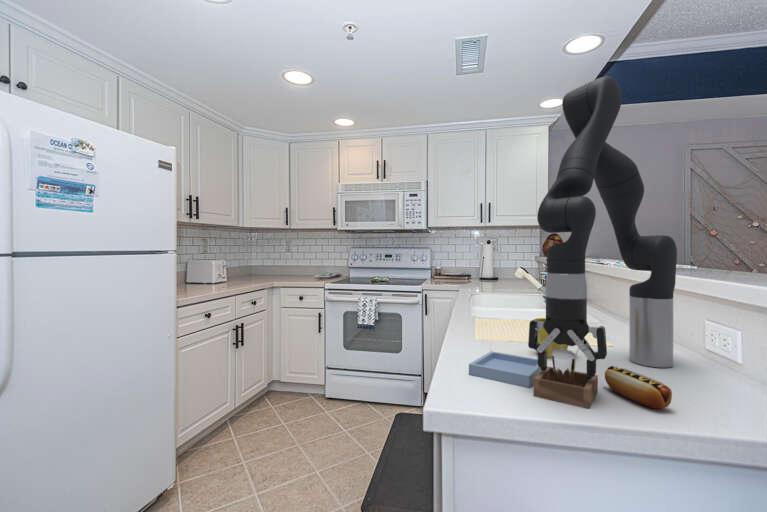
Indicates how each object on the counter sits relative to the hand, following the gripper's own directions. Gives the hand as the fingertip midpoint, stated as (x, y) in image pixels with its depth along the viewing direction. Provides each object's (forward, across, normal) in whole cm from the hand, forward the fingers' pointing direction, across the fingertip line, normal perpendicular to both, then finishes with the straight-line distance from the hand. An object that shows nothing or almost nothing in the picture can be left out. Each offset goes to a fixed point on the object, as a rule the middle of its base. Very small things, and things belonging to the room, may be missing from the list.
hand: (565, 373), depth 74 cm
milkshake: (+4, 0, 0) cm, 4 cm away
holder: (+4, 0, 0) cm, 4 cm away
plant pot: (+4, +9, -28) cm, 30 cm away
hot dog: (+4, -11, -5) cm, 13 cm away
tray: (+4, +14, -6) cm, 16 cm away
